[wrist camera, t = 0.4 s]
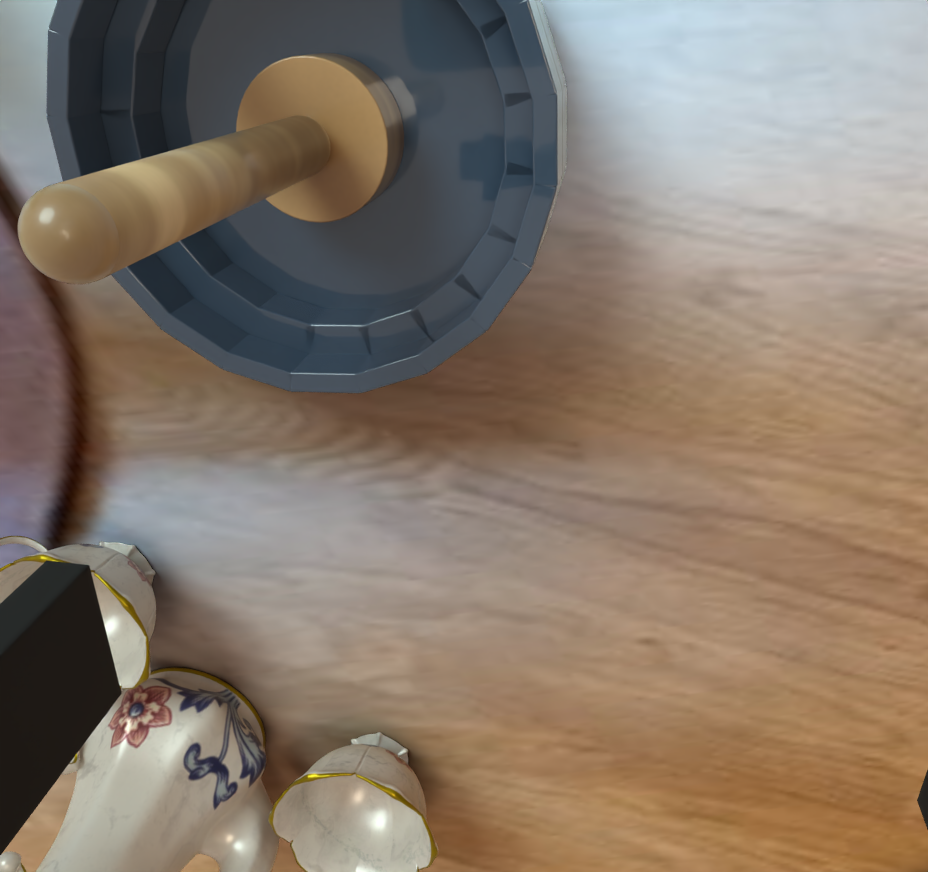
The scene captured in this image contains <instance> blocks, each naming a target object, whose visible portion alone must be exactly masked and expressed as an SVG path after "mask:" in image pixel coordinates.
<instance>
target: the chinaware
mask: <svg viewBox="0 0 928 872" xmlns="http://www.w3.org/2000/svg"><path fill="white" fill-rule="evenodd" d="M13 543H16V544H24V545H28V546H30V547H32V548H35V549H36V550H38V551H39V552H41V553H37V554H36V555H30V556H26V557H23V558H20V559H18V560H16V561H14V563H10V564H8V565H6V566H4V567H2V568H0V603H2V602H3V601H4V600H5V599H6V598H7V597H8V596H9V595H10V594H11V593H12V592H13V591H14V590H15V589H17V588H18V587H19V586H20V585H21V584H22V583H23V582H24V581H25V580H26V579H27V578H28V577H29V576H30V575H31V574H33V573H34V572H35V571H36V570H37V569H38V568H39V567H40V566H41V565H42V564H43V563H44V562H45V561H46V560H47V561H56V562H66V563H75V564H84V565H89V566H90V570H91V574H92V578H93V582H94V586H95V590H96V594H97V598H98V602H99V606H100V609H101V613H102V617H103V621H104V625H105V629H106V633H107V637H108V641H109V645H110V649H111V653H112V657H113V661H114V665H115V669H116V673H117V677H118V681H119V685H120V689H121V687H122V689H124V690H122V691H121V693H122V694H121V695H120V696H119V698H118V699H117V700H116V702H115V703H114V704H113V706H112V707H111V708H110V710H109V711H108V712H107V714H106V715H105V716H104V718H103V719H102V720H101V722H100V723H99V724H98V726H97V727H96V728H95V730H94V731H93V732H92V734H91V735H90V736H89V738H88V739H87V740H86V742H85V743H84V744H83V746H82V747H81V748H80V750H79V755H80V760H79V755H78V752H77V754H76V755H75V756H74V758H73V759H72V760H71V762H70V763H69V764H68V766H67V767H66V768H65V770H64V771H63V772H62V774H64V775H66V774H70V773H72V772H75V771H77V778H76V784H75V788H74V792H73V796H72V799H71V802H70V805H69V808H68V811H67V814H66V816H65V819H64V822H63V824H62V827H61V829H60V831H59V833H58V835H57V837H56V839H55V841H54V843H53V845H52V847H51V848H50V850H49V852H48V853H47V855H46V856H45V858H44V860H43V861H42V863H41V864H40V866H39V867H38V869H37V870H36V872H180V871H181V870H182V869H183V868H184V867H185V866H186V865H187V864H188V863H189V862H190V860H191V859H192V858H193V857H194V856H195V855H196V854H204V855H207V856H210V857H212V858H214V859H215V860H216V861H217V863H218V865H219V870H220V872H271V870H272V867H273V865H274V862H275V859H276V855H277V851H278V847H279V839H280V838H282V839H284V840H286V841H287V842H290V841H291V840H292V842H291V844H290V846H291V848H292V851H293V854H294V857H295V859H296V862H297V864H298V865H299V866H300V867H301V868H302V869H303V870H304V871H305V872H419V869H420V870H422V869H424V868H428V867H430V866H431V865H432V863H433V861H434V859H435V858H436V857H437V855H438V845H437V843H436V842H435V839H434V836H433V833H432V831H431V829H430V827H429V825H428V823H427V819H426V803H425V797H424V793H423V790H422V787H421V785H420V782H419V780H418V778H417V776H416V774H415V773H414V771H413V770H412V769H411V768H410V766H409V765H408V755H407V753H408V749H406V748H404V747H402V746H401V745H400V744H398V743H397V742H395V741H394V740H392V739H390V738H388V737H386V736H384V735H383V734H382V733H380V732H378V733H376V734H369V735H364V736H361V737H359V738H357V739H352V740H351V743H352V745H348V746H344V747H341V748H338V749H336V750H334V751H332V752H330V753H328V754H326V755H325V756H323V757H322V758H321V759H319V760H318V761H317V762H316V763H314V764H313V765H312V766H311V768H310V769H309V770H308V771H307V772H306V773H305V774H304V775H303V776H301V777H300V778H298V779H296V780H295V781H294V782H293V783H292V784H291V785H290V786H289V787H288V789H287V790H285V791H284V792H283V794H282V795H281V796H280V797H279V799H278V800H277V801H276V802H275V804H274V806H272V803H271V801H270V799H269V796H268V794H267V792H266V789H265V787H264V785H263V782H262V780H261V776H262V774H263V772H264V769H265V766H266V754H265V750H264V749H265V743H266V738H265V731H264V727H263V724H262V721H261V719H260V717H259V715H258V713H257V712H256V710H255V709H254V707H253V706H252V705H251V704H250V702H249V701H248V700H247V699H246V698H245V697H244V696H243V695H242V694H241V693H240V692H238V691H237V690H236V689H235V688H233V687H232V686H230V685H229V684H227V683H226V682H224V681H222V680H220V679H218V678H216V677H214V676H212V675H210V674H207V673H204V672H201V671H197V670H193V669H188V668H163V669H159V670H155V671H152V672H151V668H150V659H151V656H150V646H149V642H150V639H151V637H152V634H153V631H154V627H155V622H156V600H155V595H154V592H153V589H152V587H151V584H152V581H153V576H154V575H155V571H154V570H153V569H152V568H151V566H150V565H149V563H148V561H147V560H146V559H145V558H144V556H143V555H142V554H141V553H140V552H139V551H138V550H137V549H136V547H135V546H134V545H126V544H122V543H105V542H102V541H101V542H99V545H93V544H74V545H67V546H63V547H59V548H56V549H52V550H47V549H46V548H45V547H44V546H43V545H41V544H40V543H38V542H37V541H35V540H33V539H30V538H27V537H23V536H7V537H3V538H0V546H1V545H5V544H13ZM0 872H26V870H25V868H24V866H23V865H22V863H21V856H20V855H19V854H18V853H16V852H5V853H3V854H2V855H0Z"/></svg>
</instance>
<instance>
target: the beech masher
mask: <svg viewBox="0 0 928 872" xmlns="http://www.w3.org/2000/svg"><path fill="white" fill-rule="evenodd" d="M403 148H404V130H403V122H402V118H401V114H400V111H399V108H398V106H397V103H396V101H395V99H394V97H393V95H392V93H391V92H390V90H389V89H388V87H387V86H386V84H385V83H384V82H383V81H382V80H381V79H380V77H379V76H378V75H377V74H375V73H374V72H373V71H372V70H371V69H370V68H368V67H367V66H365V65H364V64H362V63H361V62H359V61H357V60H355V59H353V58H350V57H347V56H344V55H339V54H334V53H318V54H309V55H300V56H292V57H288V58H284V59H281V60H279V61H277V62H274V63H273V64H271V65H269V66H268V67H266V68H265V69H264V70H262V71H261V72H260V73H259V74H258V75H257V76H256V77H255V78H254V80H253V81H252V82H251V83H250V85H249V86H248V88H247V90H246V91H245V94H244V96H243V98H242V100H241V103H240V107H239V110H238V116H237V123H236V132H234V133H231V134H227V135H224V136H220V137H217V138H213V139H210V140H206V141H203V142H200V143H196V144H193V145H189V146H186V147H182V148H179V149H175V150H172V151H168V152H165V153H161V154H158V155H154V156H151V157H147V158H144V159H140V160H137V161H133V162H130V163H126V164H123V165H119V166H116V167H112V168H109V169H105V170H102V171H98V172H95V173H91V174H88V175H84V176H81V177H77V178H74V179H70V180H67V181H63V182H60V183H56V184H53V185H50V186H47V187H45V188H43V189H41V190H39V191H37V192H36V193H35V194H34V195H33V196H31V197H30V199H29V200H28V201H27V202H26V204H25V205H24V206H23V208H22V211H21V214H20V217H19V221H18V236H19V241H20V244H21V247H22V249H23V251H24V253H25V255H26V257H27V258H28V259H29V261H30V262H31V263H32V264H33V265H34V266H35V267H36V268H37V269H38V270H39V271H40V272H42V273H43V274H45V275H46V276H48V277H50V278H52V279H54V280H57V281H60V282H63V283H67V284H87V283H92V282H95V281H98V280H100V279H103V278H105V277H107V276H109V275H111V274H113V273H115V272H117V271H119V270H121V269H123V268H125V267H127V266H129V265H131V264H133V263H135V262H137V261H139V260H141V259H143V258H145V257H147V256H149V255H151V254H154V253H156V252H158V251H160V250H162V249H164V248H166V247H168V246H170V245H172V244H174V243H176V242H178V241H180V240H182V239H184V238H186V237H188V236H190V235H192V234H194V233H196V232H198V231H200V230H202V229H205V228H207V227H209V226H211V225H213V224H215V223H217V222H219V221H221V220H223V219H225V218H227V217H229V216H231V215H233V214H235V213H237V212H239V211H241V210H243V209H245V208H247V207H249V206H251V205H253V204H255V203H258V202H260V201H262V200H264V199H266V200H267V201H268V202H269V203H271V204H272V205H273V206H274V207H276V208H277V209H279V210H280V211H282V212H284V213H285V214H287V215H289V216H291V217H294V218H297V219H300V220H304V221H308V222H318V223H322V222H332V221H337V220H340V219H343V218H346V217H348V216H350V215H352V214H354V213H356V212H357V211H358V210H360V209H361V208H363V207H364V206H366V205H367V204H368V203H370V202H371V201H373V200H374V199H375V198H377V197H378V196H380V195H381V194H382V193H383V192H384V191H385V190H386V189H387V187H388V186H389V185H390V183H391V182H392V180H393V179H394V177H395V175H396V173H397V171H398V168H399V166H400V163H401V159H402V155H403Z"/></svg>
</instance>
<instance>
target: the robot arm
mask: <svg viewBox="0 0 928 872" xmlns="http://www.w3.org/2000/svg"><path fill="white" fill-rule="evenodd" d="M121 694H122V693H121V689H120V685H119V681H118V677H117V673H116V669H115V665H114V661H113V657H112V653H111V649H110V645H109V641H108V637H107V633H106V629H105V625H104V621H103V617H102V613H101V609H100V606H99V602H98V598H97V594H96V590H95V586H94V582H93V578H92V574H91V570H90V566H89V565H84V564H75V563H66V562H56V561H47V560H46V561H45V562H44V563H43V564H42V565H41V566H40V567H39V568H38V569H37V570H36V571H35V572H34V573H33V574H31V575H30V576H29V577H28V578H27V579H26V580H25V581H24V582H23V583H22V584H21V585H20V586H19V587H18V588H17V589H15V590H14V591H13V592H12V593H11V594H10V595H9V596H8V597H7V598H6V599H5V600H4V601H3V602H2V603H0V855H1V854H2V853H3V851H4V850H5V849H6V847H7V846H8V845H9V843H10V842H11V841H12V839H13V838H14V837H15V835H16V834H17V833H18V831H19V830H20V829H21V827H22V826H23V825H24V823H25V822H26V821H27V819H28V818H29V817H30V815H31V814H32V813H33V811H34V810H35V809H36V807H37V806H38V805H39V803H40V802H41V801H42V799H43V798H44V796H45V795H46V794H47V792H48V791H49V790H50V788H51V787H52V786H53V784H54V783H55V782H56V780H57V779H58V778H59V776H60V775H61V774H62V772H63V771H64V770H65V768H66V767H67V766H68V764H69V763H70V762H71V760H72V759H73V758H74V756H75V755H76V754H77V752H78V751H79V750H80V748H81V747H82V746H83V744H84V743H85V742H86V740H87V739H88V738H89V736H90V735H91V734H92V732H93V731H94V730H95V728H96V727H97V726H98V724H99V723H100V722H101V720H102V719H103V718H104V716H105V715H106V714H107V712H108V711H109V710H110V708H111V707H112V706H113V704H114V703H115V702H116V700H117V699H118V698H119V696H120V695H121ZM917 801H918V804H919V807H920V810H921V812H922V815H923V818H924V821H925V823H926V826H927V829H928V770H927V773H926V776H925V779H924V782H923V785H922V788H921V791H920V794H919V797H918V799H917Z"/></svg>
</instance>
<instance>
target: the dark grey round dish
mask: <svg viewBox="0 0 928 872" xmlns="http://www.w3.org/2000/svg"><path fill="white" fill-rule="evenodd" d="M540 1H541V0H58V1H57V4H56V7H55V10H54V13H53V16H52V19H51V22H50V25H49V28H50V29H49V30H48V61H47V120H48V123H49V127H50V131H51V135H52V139H53V143H54V147H55V151H56V155H57V159H58V163H59V167H60V171H61V175H62V179H63V181H67V180H70V179H74V178H77V177H81V176H84V175H88V174H91V173H95V172H98V171H102V170H105V169H109V168H112V167H116V166H119V165H123V164H126V163H130V162H133V161H137V160H140V159H144V158H147V157H151V156H154V155H158V154H161V153H165V152H168V151H172V150H175V149H179V148H182V147H186V146H189V145H193V144H196V143H200V142H203V141H206V140H210V139H213V138H217V137H220V136H224V135H227V134H231V133H234V132H236V123H237V116H238V110H239V107H240V103H241V100H242V98H243V96H244V94H245V91H246V90H247V88H248V86H249V85H250V83H251V82H252V81H253V80H254V78H255V77H256V76H257V75H258V74H259V73H260V72H261V71H262V70H264V69H265V68H266V67H268V66H269V65H271V64H273V63H274V62H277V61H279V60H281V59H284V58H288V57H292V56H300V55H309V54H318V53H334V54H339V55H344V56H347V57H350V58H353V59H355V60H357V61H359V62H361V63H362V64H364V65H365V66H367V67H368V68H370V69H371V70H372V71H373V72H374V73H375V74H377V75H378V76H379V77H380V79H381V80H382V81H383V82H384V83H385V84H386V86H387V87H388V89H389V90H390V92H391V93H392V95H393V97H394V99H395V101H396V103H397V106H398V108H399V111H400V114H401V118H402V122H403V130H404V148H403V155H402V159H401V163H400V166H399V168H398V171H397V173H396V175H395V177H394V179H393V180H392V182H391V183H390V185H389V186H388V187H387V189H386V190H385V191H384V192H383V193H382V194H381V195H380V196H378V197H377V198H375V199H374V200H373V201H371V202H370V203H368V204H367V205H366V206H364V207H363V208H361V209H360V210H358V211H357V212H356V213H354V214H352V215H350V216H348V217H346V218H343V219H340V220H337V221H332V222H322V223H318V222H308V221H304V220H300V219H297V218H294V217H291V216H289V215H287V214H285V213H284V212H282V211H280V210H279V209H277V208H276V207H274V206H273V205H272V204H271V203H269V202H268V201H267V200H266V199H264V200H262V201H260V202H258V203H255V204H253V205H251V206H249V207H247V208H245V209H243V210H241V211H239V212H237V213H235V214H233V215H231V216H229V217H227V218H225V219H223V220H221V221H219V222H217V223H215V224H213V225H211V226H209V227H207V228H205V229H202V230H200V231H198V232H196V233H194V234H192V235H190V236H188V237H186V238H184V239H182V240H180V241H178V242H176V243H174V244H172V245H170V246H168V247H166V248H164V249H162V250H160V251H158V252H156V253H154V254H151V255H149V256H147V257H145V258H143V259H141V260H139V261H137V262H135V263H133V264H131V265H129V266H127V267H125V268H123V269H121V270H119V271H117V272H115V273H113V274H111V275H112V276H113V277H114V278H115V279H116V281H117V282H118V283H119V284H120V285H121V286H122V287H123V288H124V289H125V290H126V292H127V293H128V294H129V295H130V296H131V297H132V298H133V299H134V300H135V301H136V302H137V304H138V305H139V306H140V307H141V308H142V309H143V310H144V311H145V312H146V313H147V315H148V316H149V317H150V318H151V319H152V320H153V321H154V322H155V323H156V324H157V326H159V327H160V329H161V330H163V331H165V332H166V333H168V334H169V335H171V336H172V337H174V338H175V339H177V340H178V341H180V342H181V343H183V344H184V345H186V346H187V347H189V348H190V349H192V350H193V351H195V352H196V353H198V354H200V355H201V356H203V357H204V358H206V359H207V360H209V361H210V362H212V363H213V364H215V365H216V366H218V367H219V368H221V369H223V370H226V371H229V372H232V373H235V374H238V375H241V376H244V377H247V378H250V379H253V380H256V381H259V382H263V383H266V384H269V385H272V386H275V387H278V388H281V389H284V390H287V391H292V392H327V393H364V392H367V391H370V390H374V389H377V388H380V387H384V386H387V385H390V384H394V383H397V382H401V381H404V380H407V379H411V378H414V377H417V376H421V375H424V374H427V373H428V372H430V371H432V370H433V369H435V368H436V367H437V366H439V365H440V364H442V363H443V362H444V361H446V360H447V359H449V358H450V357H452V356H453V355H454V354H456V353H457V352H459V351H460V350H461V349H463V348H464V347H466V346H467V345H468V344H470V343H471V342H473V341H474V340H475V339H477V338H478V337H480V336H481V335H482V334H484V333H485V332H486V331H487V330H488V329H489V328H490V327H491V325H492V324H493V322H494V321H495V320H496V318H497V317H498V315H499V314H500V313H501V311H502V310H503V309H504V307H505V306H506V304H507V303H508V302H509V300H510V299H511V297H512V296H513V295H514V293H515V292H516V290H517V289H518V288H519V286H520V285H521V283H522V282H523V281H524V279H525V278H526V276H527V275H528V274H529V272H530V271H531V269H532V267H533V265H534V263H535V260H536V258H537V255H538V253H539V250H540V248H541V245H542V243H543V240H544V238H545V234H546V231H547V228H548V225H549V222H550V219H551V215H552V212H553V209H554V206H555V203H556V199H557V196H558V193H559V190H560V187H561V184H562V180H563V177H564V174H565V171H566V165H567V86H566V85H565V84H566V80H565V77H564V73H563V70H562V67H561V63H560V60H559V57H558V54H557V50H556V47H555V44H554V40H553V37H552V34H551V31H550V27H549V24H548V21H547V17H546V14H545V11H544V8H543V4H542V2H540Z"/></svg>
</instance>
